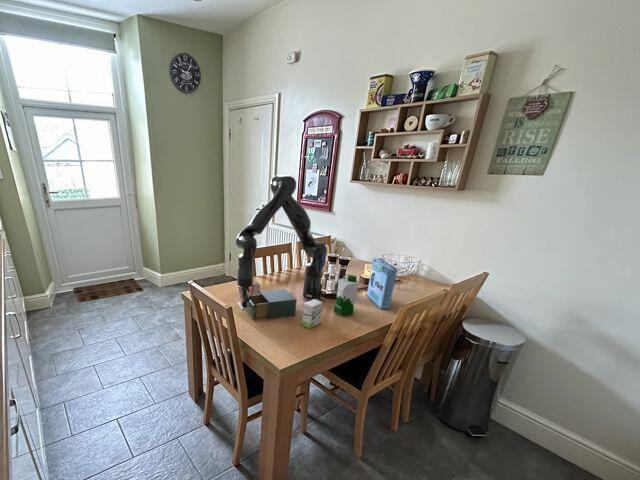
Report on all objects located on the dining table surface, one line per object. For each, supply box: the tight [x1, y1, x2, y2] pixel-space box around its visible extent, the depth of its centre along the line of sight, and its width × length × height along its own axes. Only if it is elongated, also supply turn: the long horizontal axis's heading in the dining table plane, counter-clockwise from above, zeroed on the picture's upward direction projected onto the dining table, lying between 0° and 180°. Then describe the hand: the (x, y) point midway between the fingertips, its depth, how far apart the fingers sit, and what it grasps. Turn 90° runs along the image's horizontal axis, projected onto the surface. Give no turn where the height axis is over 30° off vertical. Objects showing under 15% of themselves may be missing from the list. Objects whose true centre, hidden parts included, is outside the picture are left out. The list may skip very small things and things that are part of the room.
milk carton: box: [333, 274, 360, 317], centre depth 169 cm, size 9×9×20 cm
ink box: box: [301, 299, 323, 329], centre depth 158 cm, size 9×5×12 cm, turn 132°
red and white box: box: [249, 280, 261, 295], centre depth 184 cm, size 4×5×10 cm
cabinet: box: [260, 288, 298, 320], centre depth 171 cm, size 15×14×10 cm
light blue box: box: [366, 257, 398, 310], centre depth 182 cm, size 20×5×23 cm, turn 2°
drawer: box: [237, 294, 269, 320], centre depth 167 cm, size 18×13×8 cm
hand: (244, 307), depth 165 cm, fingers closed
